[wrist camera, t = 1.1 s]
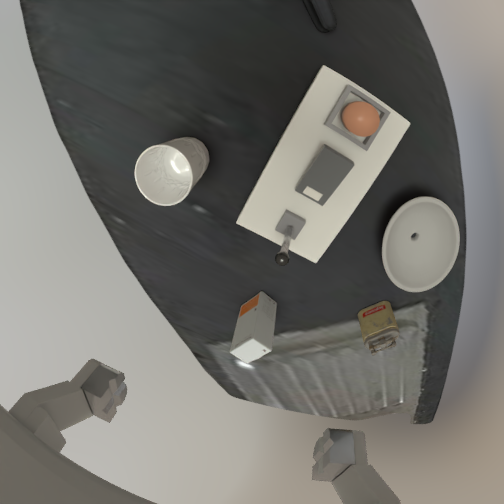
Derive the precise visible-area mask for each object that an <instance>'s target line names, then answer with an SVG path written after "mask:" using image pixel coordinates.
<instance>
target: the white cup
mask: <svg viewBox="0 0 504 504" xmlns="http://www.w3.org/2000/svg"><path fill="white" fill-rule="evenodd" d="M209 161H210V160H209V153H208V150H207V148H206V147H205V145H204V144H203V142H201V141H199V140H198V139H196V138H193V137H183V138H179V139H174V140H170V141H167V142H164V143H161V144H158V145H155V146H152V147H150V148H148V149H146V150H145V151H144V152H143V153H142V154H141V155H140V157H139V158H138V160H137V162H136V166H135V180H136V183H137V186H138V188H139V190H140V191H141V193H142V194H143V195H144V196H145V197H146V198H147V199H148V200H149V201H151V202H153V203H155V204H158V205H162V206H170V205H174V204H177V203H179V202H181V201H182V200H183V199H184V198H185V197H186V196H187V195H188V194H189V192H190V191H191V190H192V188H193V187H194V186H195V185H196V184H197V182H198V181H199V179H200V178H201V177H202V175H203V173H204V172H205V171H206V170H207V167H208V164H209Z"/></svg>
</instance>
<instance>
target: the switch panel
mask: <svg viewBox="0 0 504 504" xmlns="http://www.w3.org/2000/svg"><path fill="white" fill-rule="evenodd" d="M354 101H361V102H367V103H369V104H371V105H372V106H373V107H374V108H375V109H376V110H377V112H378V114H379V118H380V123H379V127H378V129H377V130H376V132H375V133H373V134H372V135H370V136H367V137H361V136H357V135H355V134H353V133H352V132H350V131H348V130H347V129H346V128H345V126H344V125H343V122H342V118H341V114H342V111H343V109H344V107H345V106H346V105H347V104H348V103H350V102H354ZM409 125H410V122H408V121H407V120H406V119H404V118H403V117H402V116H401V115H399V114H398V113H397V112H395V111H394V110H393V109H391V108H390V107H389V106H387V105H386V104H385V103H383V102H382V101H380V100H379V99H377V98H376V97H375V96H373V95H372V94H370V93H369V92H367V91H366V90H364V89H363V88H361V87H360V86H358V85H356V84H355V83H353V82H352V81H350V80H348V79H347V78H345V77H344V76H342V75H340V74H338V73H337V72H335V71H333V70H332V69H330V68H328V67H326V66H324V65H323V66H322V67H321V68H320V70H319V72H318V73H317V75H316V77H315V79H314V80H313V82H312V84H311V85H310V87H309V89H308V91H307V92H306V94H305V96H304V98H303V99H302V101H301V103H300V105H299V106H298V108H297V110H296V112H295V113H294V115H293V117H292V119H291V121H290V122H289V124H288V126H287V128H286V129H285V131H284V133H283V135H282V137H281V138H280V140H279V142H278V144H277V146H276V147H275V149H274V151H273V153H272V155H271V157H270V158H269V160H268V162H267V164H266V166H265V168H264V169H263V171H262V173H261V175H260V177H259V179H258V181H257V182H256V184H255V186H254V188H253V190H252V192H251V194H250V196H249V198H248V199H247V201H246V203H245V205H244V207H243V209H242V211H241V213H240V215H239V217H238V219H237V222H236V223H237V224H239V225H241V226H243V227H245V228H247V229H249V230H251V231H253V232H255V233H257V234H259V235H261V236H263V237H265V238H267V239H269V240H271V241H273V242H275V243H277V244H279V245H281V246H282V243H283V239H284V235H285V232H286V228H287V227H292V228H293V233H292V237H291V241H290V246H289V250H291V251H293V252H295V253H297V254H299V255H301V256H303V257H305V258H307V259H308V260H310V261H312V262H314V263H317V261H318V260H319V259H320V257H321V256H322V255H323V253H324V252H325V251H326V249H327V248H328V246H329V245H330V244H331V242H332V241H333V240H334V238H335V237H336V235H337V234H338V233H339V231H340V230H341V228H342V227H343V226H344V224H345V223H346V221H347V220H348V219H349V217H350V216H351V214H352V213H353V211H354V210H355V208H356V207H357V206H358V204H359V203H360V201H361V200H362V198H363V197H364V195H365V194H366V192H367V191H368V189H369V188H370V186H371V185H372V183H373V182H374V180H375V179H376V177H377V176H378V174H379V173H380V171H381V170H382V168H383V167H384V165H385V164H386V162H387V161H388V159H389V157H390V156H391V154H392V153H393V151H394V150H395V148H396V146H397V145H398V143H399V142H400V140H401V138H402V137H403V135H404V133H405V132H406V130H407V128H408V127H409ZM324 144H326V145H327V146H329V147H331V148H332V149H334V150H336V151H337V152H339V153H340V154H342V155H344V156H345V157H347V158H348V159H350V160H352V161H353V162H354V167H353V168H352V169H351V171H350V172H349V173H348V175H347V176H346V177H345V178H344V180H343V181H342V182H341V184H340V185H339V186H338V187H337V189H336V190H335V191H334V193H333V194H332V195H331V196H330V198H329V199H328V200H327V201H326V203H325V204H324V205H323V206H321V205H320V204H318V203H316V202H314V201H312V200H311V199H309V198H307V197H305V196H303V195H302V194H300V193H298V192H296V191H295V188H296V186H297V184H298V183H299V181H300V180H301V178H302V177H303V175H304V174H305V172H306V171H307V169H308V168H309V166H310V165H311V163H312V162H313V160H314V159H315V157H316V156H317V154H318V153H319V152H320V150H321V149H322V147H323V146H324Z"/></svg>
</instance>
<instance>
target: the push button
mask: <svg viewBox="0 0 504 504" xmlns="http://www.w3.org/2000/svg"><path fill="white" fill-rule="evenodd" d="M341 118H342V122H343V125H344V126H345V128H346V129H347V130H348V131H350V132H352V133H353V134H355V135H357V136H361V137H367V136H370V135H372V134H373V133H375V132H376V130H377V129H378V127H379V123H380V118H379V114H378V112H377V110H376V109H375V108H374V107H373V106H372V105H371V104H369V103H367V102H361V101H354V102H350V103H348V104H347V105H346V106H345V107H344V109H343V111H342V114H341Z"/></svg>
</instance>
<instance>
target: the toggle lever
mask: <svg viewBox="0 0 504 504" xmlns="http://www.w3.org/2000/svg"><path fill="white" fill-rule="evenodd" d="M292 233H293V228H292V227H287V228H286V232H285V235H284V239H283V243H282V246H281V250H280V252H279V253H277V255H276V257H275V261H276V263H277V264H278V265H281V266H284V265H286V264H287V263H288V262H289V255H288V250H289V246H290V241H291V237H292Z"/></svg>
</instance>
